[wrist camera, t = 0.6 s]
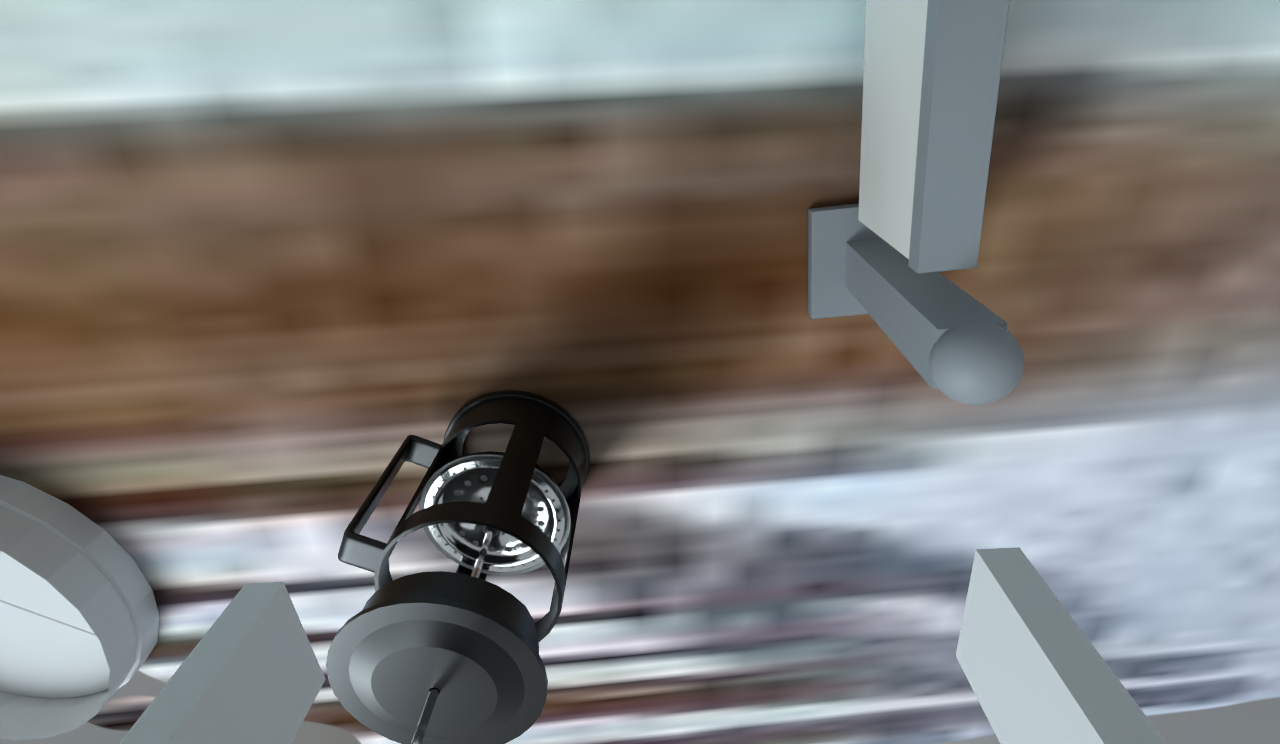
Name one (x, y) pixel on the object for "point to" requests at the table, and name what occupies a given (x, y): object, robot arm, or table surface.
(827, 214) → the posts
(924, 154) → the grey long flat block
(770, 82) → the table surface
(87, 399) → the table surface
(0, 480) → the dish
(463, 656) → the french press
